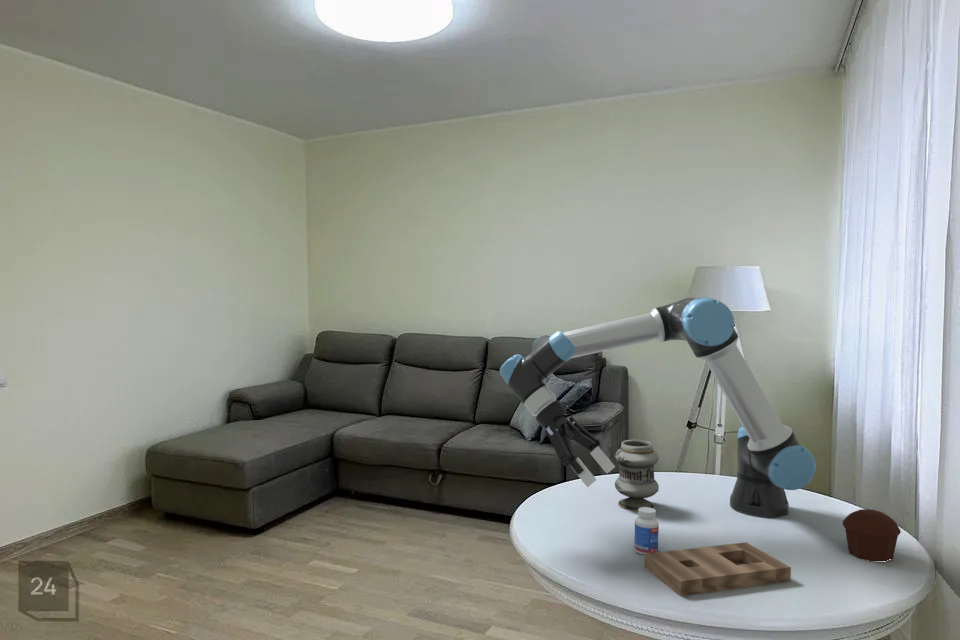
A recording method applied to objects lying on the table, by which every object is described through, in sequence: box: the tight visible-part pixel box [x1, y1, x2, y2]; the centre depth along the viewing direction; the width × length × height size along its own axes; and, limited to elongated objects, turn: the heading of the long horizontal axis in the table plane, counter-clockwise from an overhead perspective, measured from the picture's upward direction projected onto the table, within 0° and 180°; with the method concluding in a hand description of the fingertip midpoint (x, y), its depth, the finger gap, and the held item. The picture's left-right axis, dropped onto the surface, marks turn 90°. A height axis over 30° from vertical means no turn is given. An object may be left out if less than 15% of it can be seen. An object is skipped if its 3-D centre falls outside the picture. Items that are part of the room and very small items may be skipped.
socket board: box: [644, 541, 792, 597], centre depth 138 cm, size 26×14×3 cm, turn 105°
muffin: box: [842, 508, 902, 562], centre depth 149 cm, size 12×11×10 cm
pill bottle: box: [633, 507, 660, 556], centre depth 150 cm, size 6×5×10 cm
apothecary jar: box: [614, 439, 660, 512], centre depth 183 cm, size 12×12×18 cm
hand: (602, 476), depth 156 cm, fingers open, 13 cm apart
